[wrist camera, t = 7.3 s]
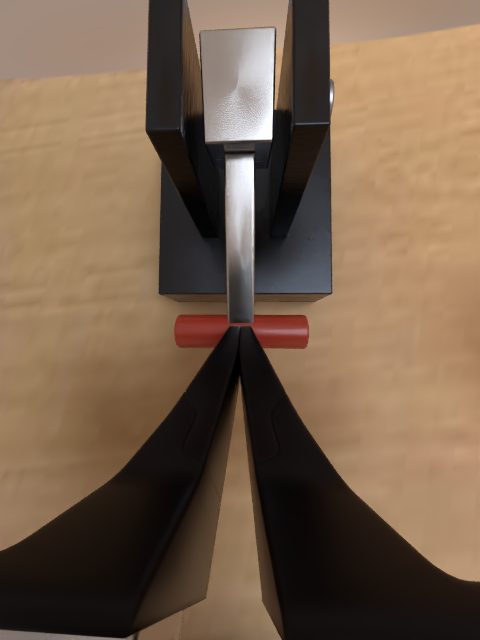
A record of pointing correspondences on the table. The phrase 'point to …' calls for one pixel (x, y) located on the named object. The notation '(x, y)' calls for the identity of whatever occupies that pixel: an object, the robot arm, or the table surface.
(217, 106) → the switch lever
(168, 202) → the lever base unit
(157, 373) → the table surface
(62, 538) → the robot arm
